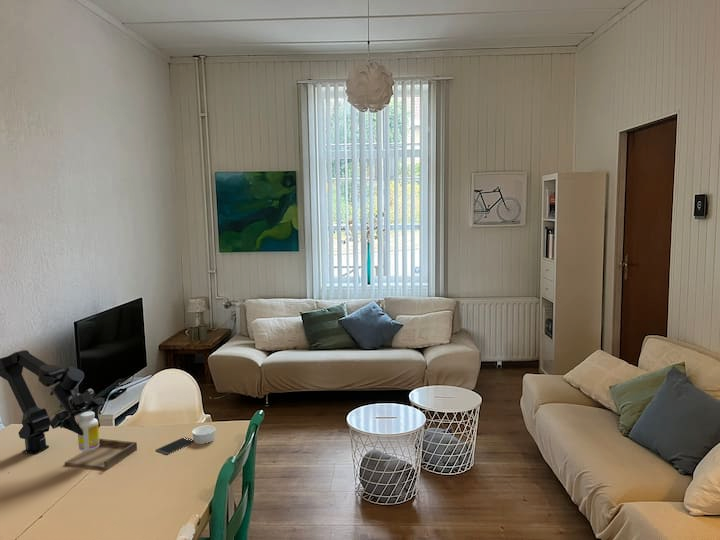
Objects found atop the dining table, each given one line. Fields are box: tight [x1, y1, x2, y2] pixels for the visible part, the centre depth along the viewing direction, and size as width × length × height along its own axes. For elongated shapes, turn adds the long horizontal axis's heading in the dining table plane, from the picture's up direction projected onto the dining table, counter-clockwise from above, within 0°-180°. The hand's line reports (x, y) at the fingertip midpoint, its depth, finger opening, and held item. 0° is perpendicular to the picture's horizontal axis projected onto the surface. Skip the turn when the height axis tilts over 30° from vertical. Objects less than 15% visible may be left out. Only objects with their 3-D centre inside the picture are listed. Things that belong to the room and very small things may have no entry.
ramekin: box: [191, 425, 216, 445], centre depth 201 cm, size 9×9×4 cm
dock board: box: [64, 438, 138, 471], centre depth 188 cm, size 18×16×3 cm
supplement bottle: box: [77, 411, 100, 452], centre depth 183 cm, size 7×7×13 cm
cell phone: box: [155, 436, 194, 456], centre depth 197 cm, size 7×14×1 cm, turn 147°
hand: (91, 430), depth 183 cm, fingers closed on supplement bottle, 7 cm apart
